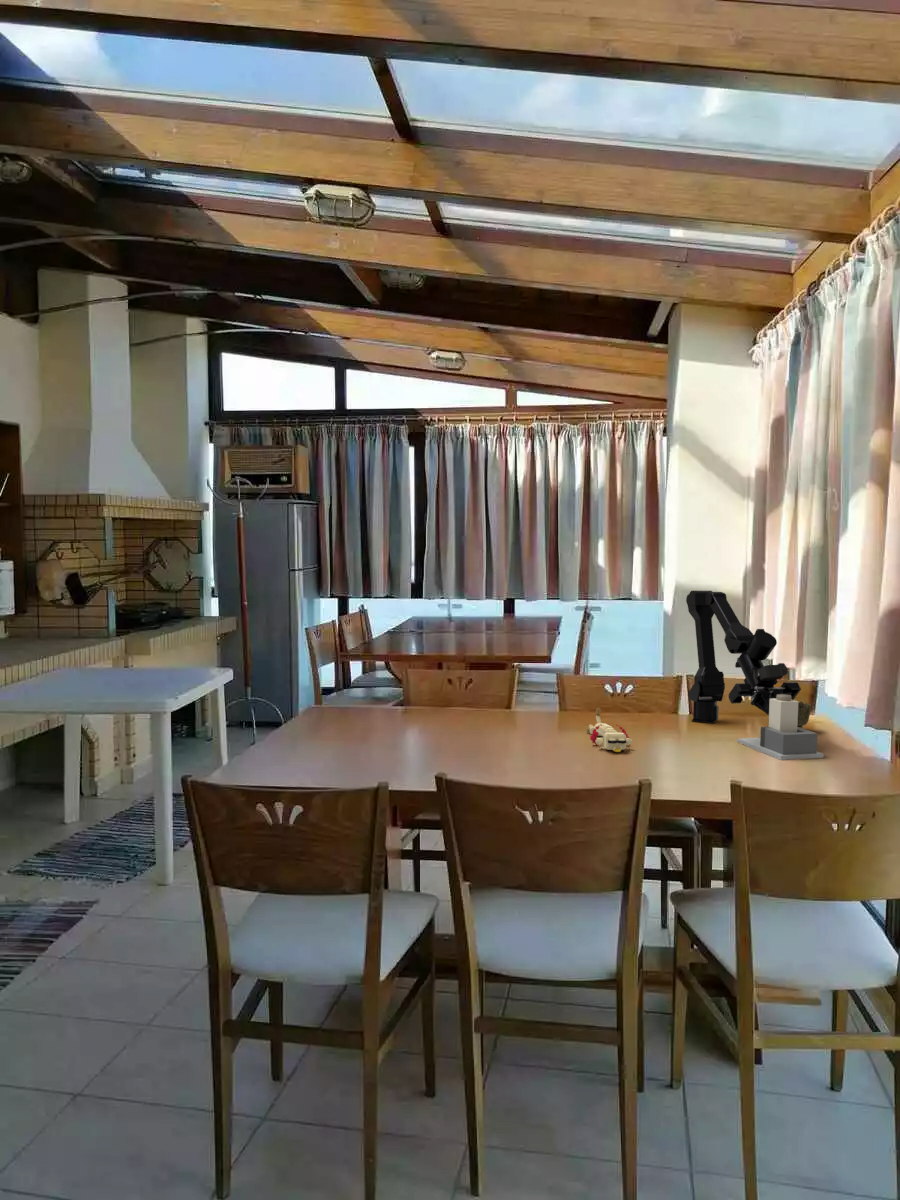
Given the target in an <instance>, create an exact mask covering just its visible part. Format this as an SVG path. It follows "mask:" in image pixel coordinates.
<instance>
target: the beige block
mask: <svg viewBox="0 0 900 1200" xmlns="http://www.w3.org/2000/svg"><path fill="white" fill-rule="evenodd" d="M798 703H799V701H797V700H795V699H794V700H792V699H791V695H786V694H777V698H773V699H770V703H769V715H768V727H771V728H773V729H776V730H779V731H782V732H785V733H797V723H798Z"/></svg>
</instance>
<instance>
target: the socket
mask: <svg viewBox="0 0 900 1200" xmlns="http://www.w3.org/2000/svg"><path fill="white" fill-rule="evenodd" d="M759 735H760V737H743V738H742V737H741V738H737V740H736V742H737V743H738V742H739V743H738V744H740V743H742V744H741V745H743V744H744V745H743V746H745V745H746V746H745V747H748V748H750V749H753V750H755V751H758V752H760V753H763V754H765V755H768V756H770V757H772V758H775V759H778V760H780V761H784V760H785V761H786V760H802V759H803V760H804V759H806V760H808V759H823V758H824V753H822V752H819V751H818V733H816V732H814V731H812V730H808V729H806V728H804V727H803V728H800V727H797V733H785V732H782V731H779V730H776V729H773V728H771V727H769V726H760V734H759Z"/></svg>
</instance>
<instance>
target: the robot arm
mask: <svg viewBox="0 0 900 1200" xmlns="http://www.w3.org/2000/svg"><path fill="white" fill-rule="evenodd" d="M685 599H686V600H685V602H686V605H687V611H688V613H689V614H690V616H691V617H692V618H693V620H694V626H695V638H696V649H697V650H696V651H697V659H698V662H697V663H698V669H697V671H696V673H695V675H694V677H693V679H694V680H693V685H692V686H691V687H690V690H689V691H688V692H687V694H688V700H689V701H691V702H693V714H692V715H693V717H692V718H691V722H696V721H701V722H700V723H705V722H708V724H715V723H716V722H717V721H718V720H719V711H720V709H719V705H718V702H723V697H724V693H725V689H726V686H725V685H726V684H725V680H724V679H725V677H724V676H725V675H724V672H723V671H720V670H719V669H718V667H717V663H716V654H715V653H716V652H715V643H714V642H715V641H714V628H713V617H714V615H715V618H716V619H717V620H718V623H719V625H720V626H721V628H722V630H723V632H724V635H725V636H724V639H723V640H724V644H725V647H726V648H727V651H728V652H729V653H730V654H733V655H734V654H737V655H738V654H740V655H739V657H737V658H736V661H735V666H734V667H735V668H738V669H739V668H741V670H742V673H743V676H744V677H745V678H744V679H743V682H742V683H740V682H739V683H735V684H734V686H733V687H732V689H731V690H730V691H729V693H728V699H729V701H730V703H731V704H741V703H742V702H743V700H744V699H743V697H744V698H746V697H749V698H751V702H750V705H751V706H754V707H756V708H758V709H759V710H760V711H762V712H764V713H765V714H766V715H768V716H769V703H770V699H773V698H777V694H786V695H791V699H792V700H795V698H796V697H797V695H798V694H799V693H800V691H801V690H802V688H801V686H800V684H799V683H798V682H797V681H784V682H783V683H781V685H780V686H779V687H778V686H776V687H775V685H777V684H778V679H781V678H784V676H787V675H788V674H789V671H788V667H787V665H786V664H785V663H784V662H778V663H777V664H767V665H764V663H763V661H765V660H767V659H768V657H769V655H770V654H772V652H773V650H774V649H775V647H776V646H777V644H778V642H777V639H776V637H774V636H773V635H772V634H771V633H769V632H767V631H765V629H764V628H756V630H755V632H754V633H753V632H752V631H751V629H750V628H748V627H746V626H744V625H743V624H742V623H741V622H740V620H739V618H738V616H737V615H736V614H735V611H734V609H733V608H732V606H731V604H730V603H729V601H728V600H727V594H726V593H725V592H723V591H713V590H691V591H690V592H689V593H688V594H687V595H686V598H685ZM716 720H717V721H716ZM715 721H716V722H715Z"/></svg>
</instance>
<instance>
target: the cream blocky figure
mask: <svg viewBox="0 0 900 1200" xmlns="http://www.w3.org/2000/svg"><path fill="white" fill-rule="evenodd" d="M601 713H602V710H601V707H596V710H595V720H596V723H595V725H593V724H588V728H586V733H588V734H589V740H591V741H592V744H594V745H596V746H600V747H601V749H603V750H605V749H606V750H609V751H611V750H612V751H613V752H615V753H620V752H621V751H623V750H624V751H625V749H627V748H628V747H627V746H630V745H632V744H633V739H630V736H629V735H628V733H627V731H626V729H625V728H623V726H620V725H618V723H617V724H615V725H616V726H618V727H619V730H621V732H618V731H617V730H615V728H613V726H611V725H609V724H607V723H603V722H602V720H601V719H602V718H601ZM598 736H599V737H598ZM602 744H603V746H601V745H602Z"/></svg>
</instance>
